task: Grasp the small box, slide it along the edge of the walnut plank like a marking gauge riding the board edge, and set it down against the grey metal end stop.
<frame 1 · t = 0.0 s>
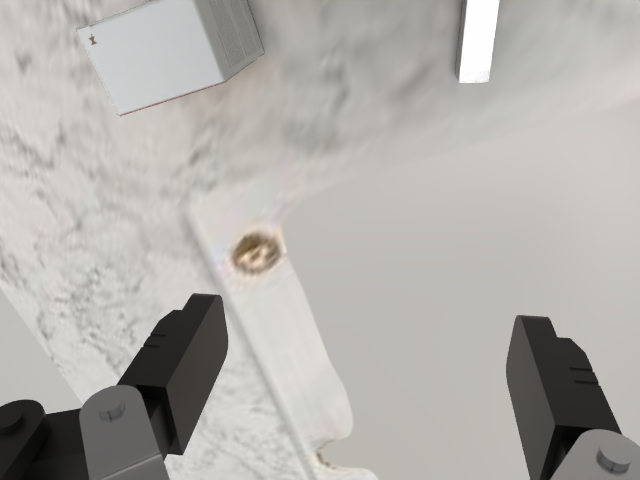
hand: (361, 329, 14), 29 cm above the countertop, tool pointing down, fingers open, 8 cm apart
end stop: (473, 30, 36), on the countertop
small box: (208, 32, 39), on the countertop
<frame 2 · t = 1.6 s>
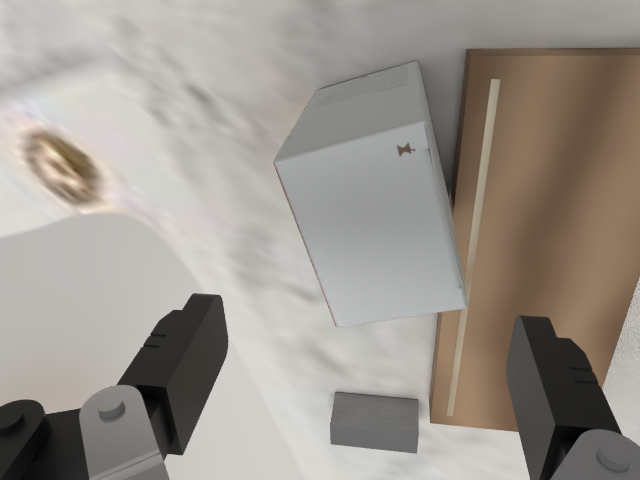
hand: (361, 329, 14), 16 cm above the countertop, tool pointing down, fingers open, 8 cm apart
end stop: (375, 405, 37), on the countertop
plank: (531, 263, 30), on the countertop
small box: (385, 144, 28), on the countertop
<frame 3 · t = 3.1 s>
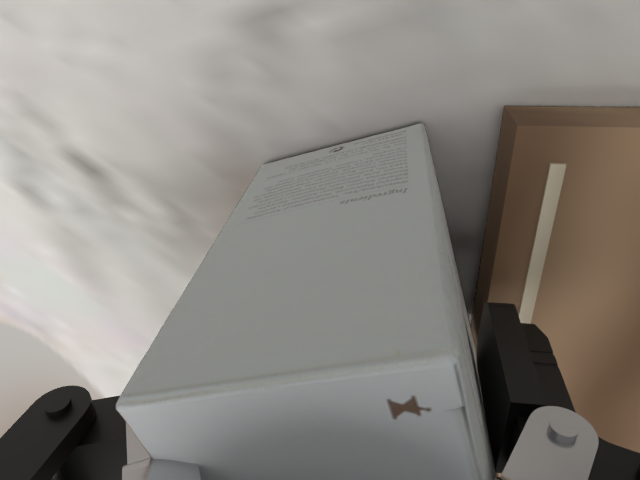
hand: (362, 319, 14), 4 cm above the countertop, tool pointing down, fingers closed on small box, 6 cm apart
plank: (588, 407, 20), on the countertop
small box: (372, 242, 18), on the countertop, touching gripper
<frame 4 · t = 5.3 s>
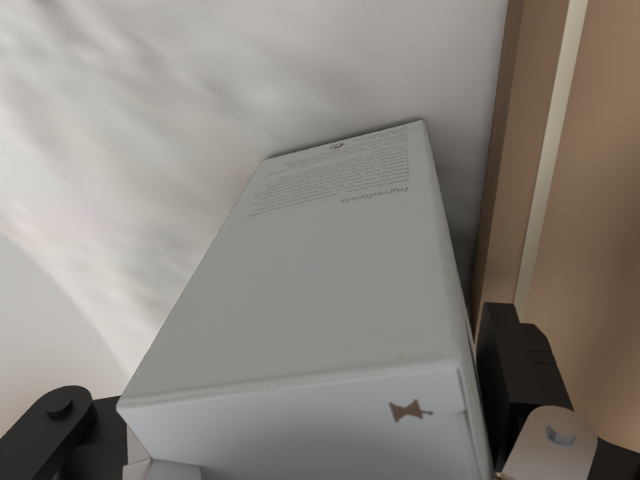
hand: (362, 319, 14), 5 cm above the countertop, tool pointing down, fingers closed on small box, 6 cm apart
plank: (620, 281, 18), on the countertop
small box: (371, 238, 18), on the countertop, touching gripper
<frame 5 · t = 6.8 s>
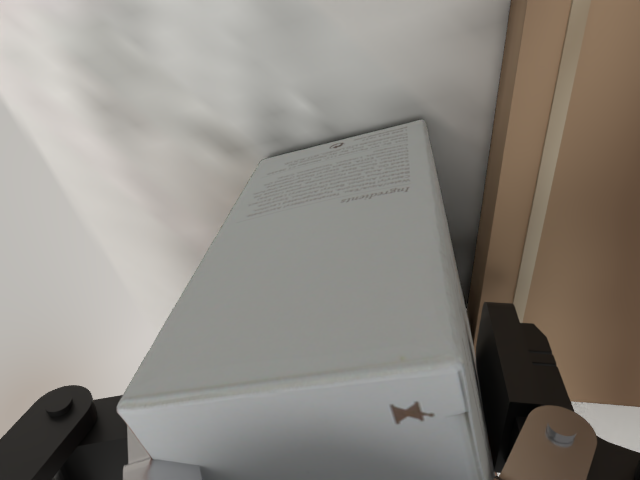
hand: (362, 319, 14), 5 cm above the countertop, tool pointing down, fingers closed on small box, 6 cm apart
small box: (371, 237, 18), on the countertop, touching gripper
when the fingers open (4 cm above the countertop, at t = 7.9 s): small box stays where it is, on the countertop.
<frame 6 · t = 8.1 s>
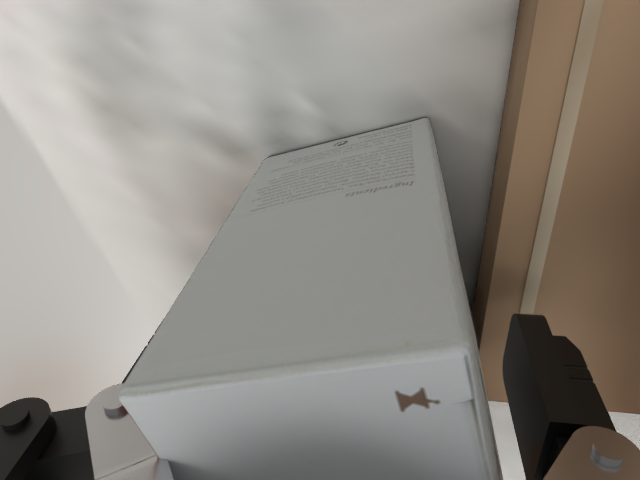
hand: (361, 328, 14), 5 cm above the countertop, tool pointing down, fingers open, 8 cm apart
small box: (375, 237, 18), on the countertop
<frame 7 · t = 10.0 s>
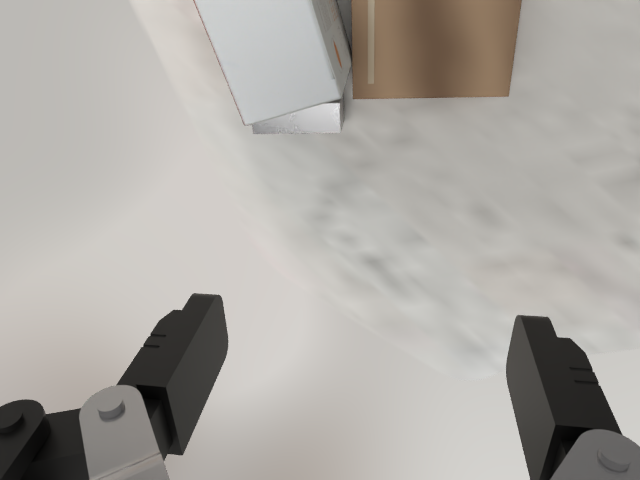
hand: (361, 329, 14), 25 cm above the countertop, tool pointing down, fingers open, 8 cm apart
end stop: (302, 106, 36), on the countertop
small box: (298, 13, 33), on the countertop
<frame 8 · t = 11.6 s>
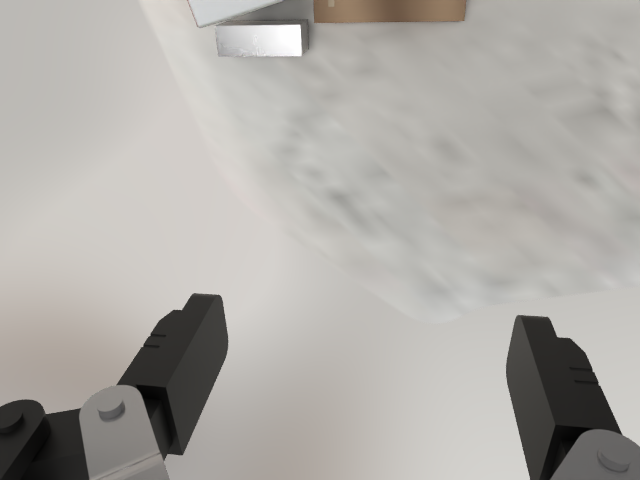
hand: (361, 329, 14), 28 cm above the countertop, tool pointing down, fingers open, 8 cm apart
end stop: (268, 34, 37), on the countertop
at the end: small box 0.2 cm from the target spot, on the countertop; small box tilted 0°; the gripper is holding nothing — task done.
